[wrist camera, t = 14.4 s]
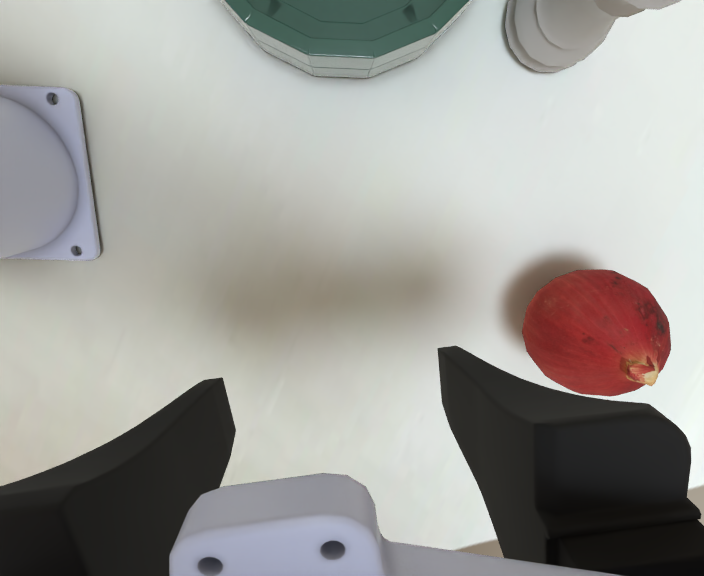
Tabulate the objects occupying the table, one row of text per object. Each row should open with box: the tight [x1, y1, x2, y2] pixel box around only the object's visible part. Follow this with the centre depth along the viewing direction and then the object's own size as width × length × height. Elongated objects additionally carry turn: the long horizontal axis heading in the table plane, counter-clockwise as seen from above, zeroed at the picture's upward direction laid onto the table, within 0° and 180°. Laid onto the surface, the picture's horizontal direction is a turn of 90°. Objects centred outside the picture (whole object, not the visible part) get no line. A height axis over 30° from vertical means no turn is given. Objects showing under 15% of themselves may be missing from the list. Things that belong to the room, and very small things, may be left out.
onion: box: [522, 270, 671, 396], centre depth 20 cm, size 6×6×8 cm
